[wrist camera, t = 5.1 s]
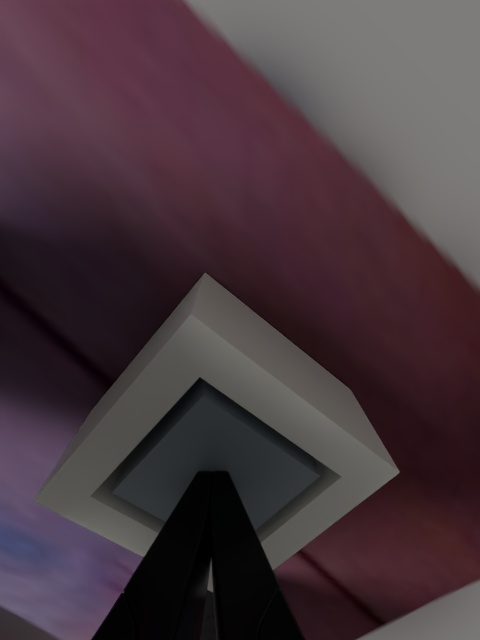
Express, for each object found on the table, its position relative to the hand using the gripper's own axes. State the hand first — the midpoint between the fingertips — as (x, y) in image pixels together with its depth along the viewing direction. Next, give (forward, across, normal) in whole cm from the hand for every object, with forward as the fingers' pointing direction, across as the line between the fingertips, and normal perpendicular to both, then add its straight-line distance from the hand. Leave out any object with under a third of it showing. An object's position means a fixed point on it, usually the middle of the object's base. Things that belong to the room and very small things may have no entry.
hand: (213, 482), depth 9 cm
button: (+3, 0, 0) cm, 3 cm away
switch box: (+4, 0, 0) cm, 4 cm away
